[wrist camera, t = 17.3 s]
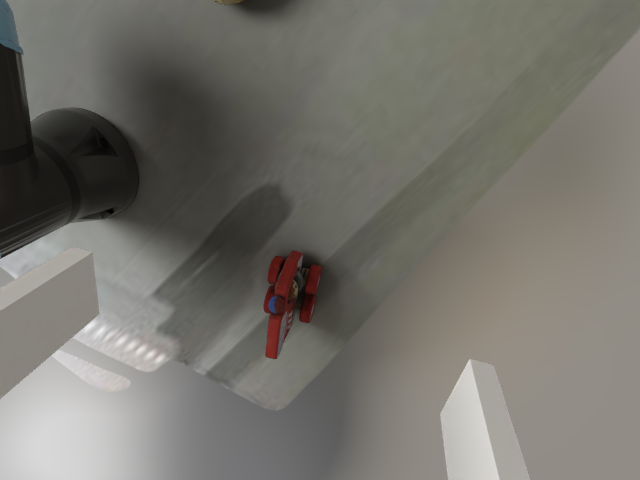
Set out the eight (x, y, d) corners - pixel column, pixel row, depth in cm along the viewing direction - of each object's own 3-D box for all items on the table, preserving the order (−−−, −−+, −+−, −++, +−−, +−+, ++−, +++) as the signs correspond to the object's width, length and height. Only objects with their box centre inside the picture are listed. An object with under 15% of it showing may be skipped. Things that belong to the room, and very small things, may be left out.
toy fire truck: (326, 250, 51) (310, 292, 41) (312, 319, 56) (296, 370, 47) (278, 238, 51) (252, 278, 42) (269, 308, 57) (244, 356, 48)
